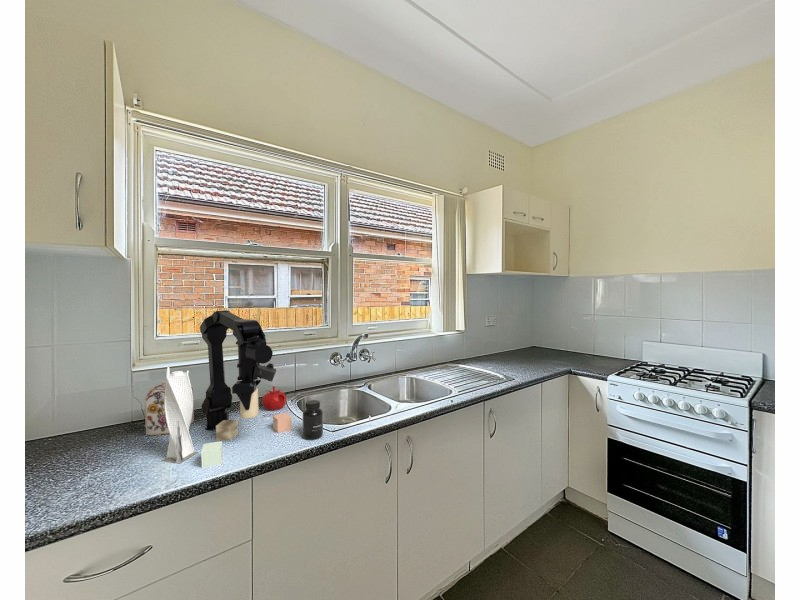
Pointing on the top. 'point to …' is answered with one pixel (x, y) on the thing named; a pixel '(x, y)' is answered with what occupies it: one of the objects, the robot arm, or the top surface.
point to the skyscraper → (178, 416)
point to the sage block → (211, 454)
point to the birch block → (227, 430)
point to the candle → (253, 407)
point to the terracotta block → (282, 422)
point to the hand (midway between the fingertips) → (249, 406)
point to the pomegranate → (274, 400)
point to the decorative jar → (157, 411)
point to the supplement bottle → (312, 420)
